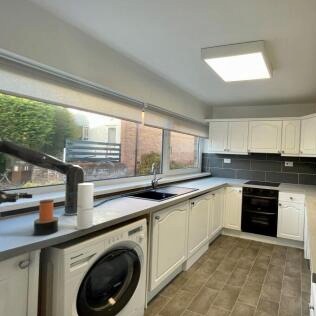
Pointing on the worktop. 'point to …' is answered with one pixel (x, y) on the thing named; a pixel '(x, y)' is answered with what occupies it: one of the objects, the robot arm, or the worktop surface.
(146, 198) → the worktop surface
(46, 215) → the orange tin
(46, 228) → the black canister
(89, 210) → the cylindrical container
